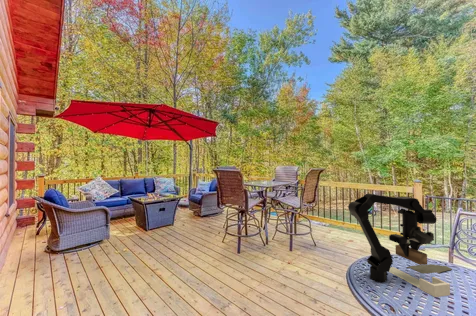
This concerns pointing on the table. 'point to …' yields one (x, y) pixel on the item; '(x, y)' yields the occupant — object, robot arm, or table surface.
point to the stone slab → (429, 268)
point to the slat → (413, 255)
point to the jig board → (405, 277)
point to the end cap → (435, 287)
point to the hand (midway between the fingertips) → (410, 256)
